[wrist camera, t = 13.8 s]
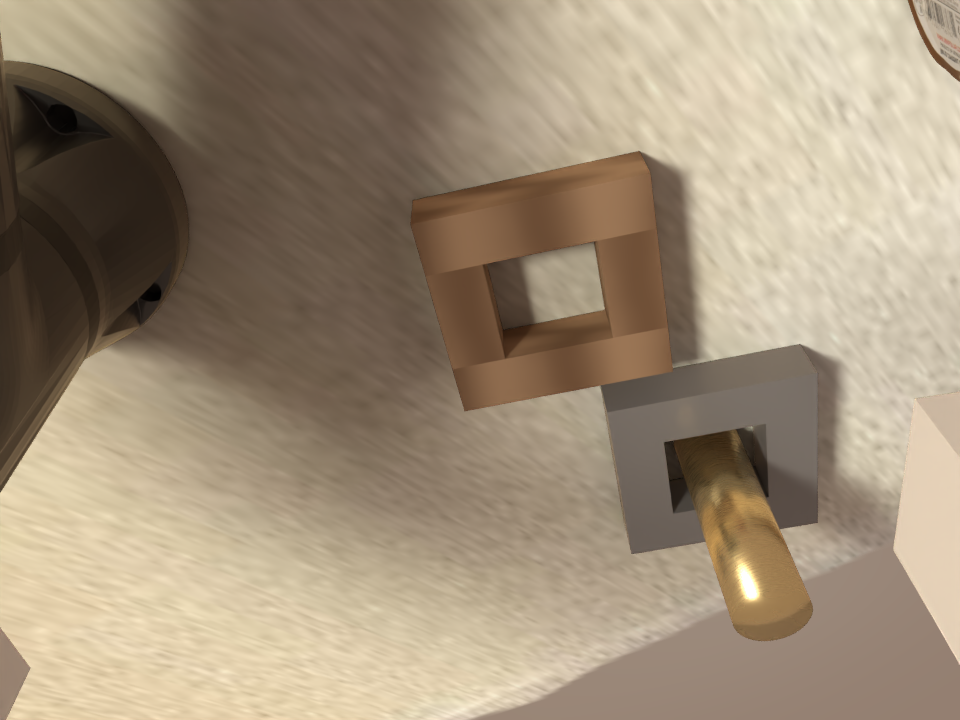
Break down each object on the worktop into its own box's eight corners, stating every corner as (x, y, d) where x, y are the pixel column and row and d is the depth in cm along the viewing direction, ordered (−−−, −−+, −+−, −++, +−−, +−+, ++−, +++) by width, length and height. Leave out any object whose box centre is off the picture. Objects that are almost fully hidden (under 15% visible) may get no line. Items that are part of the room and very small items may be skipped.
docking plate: (624, 521, 59) (631, 554, 56) (599, 382, 52) (607, 412, 50) (801, 490, 57) (817, 522, 55) (800, 344, 51) (817, 373, 48)
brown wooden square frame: (464, 381, 52) (464, 411, 49) (413, 200, 45) (410, 224, 43) (662, 342, 50) (672, 371, 48) (639, 151, 44) (650, 173, 41)
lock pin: (676, 467, 56) (734, 646, 44) (671, 420, 54) (730, 595, 42) (738, 456, 56) (812, 633, 44) (735, 408, 53) (812, 582, 42)
